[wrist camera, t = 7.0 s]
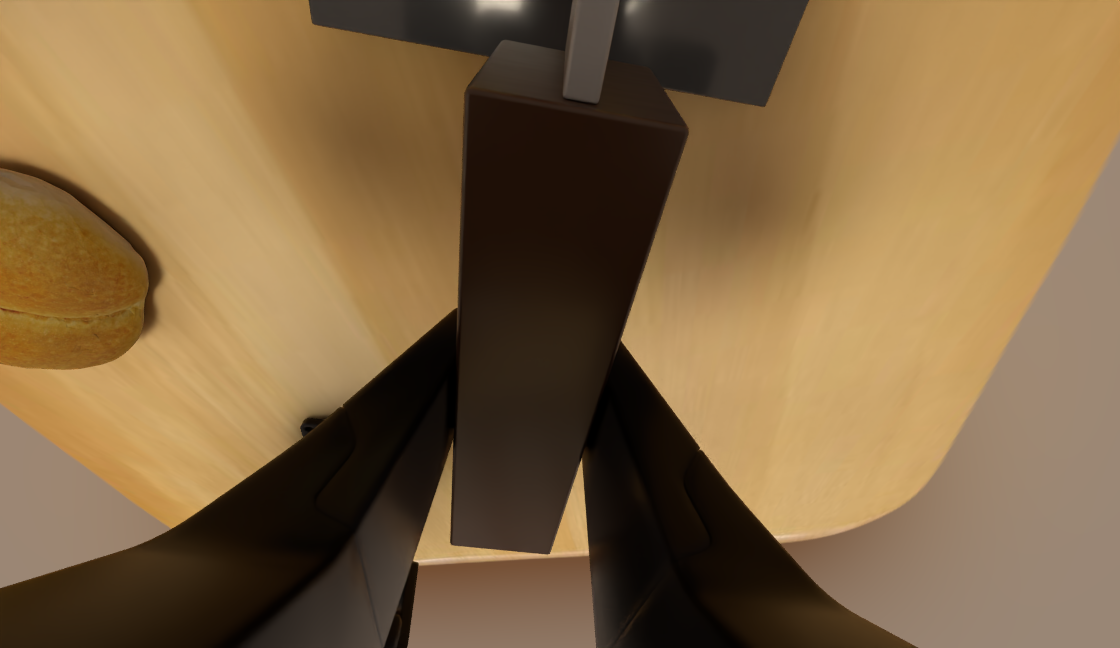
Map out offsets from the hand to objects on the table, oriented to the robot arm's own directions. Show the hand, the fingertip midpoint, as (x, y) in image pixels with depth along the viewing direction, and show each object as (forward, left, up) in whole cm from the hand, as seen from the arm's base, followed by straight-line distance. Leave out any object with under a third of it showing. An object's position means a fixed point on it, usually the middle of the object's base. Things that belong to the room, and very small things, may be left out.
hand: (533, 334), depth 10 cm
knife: (+5, 0, -1) cm, 5 cm away
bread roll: (-8, +21, -10) cm, 24 cm away
